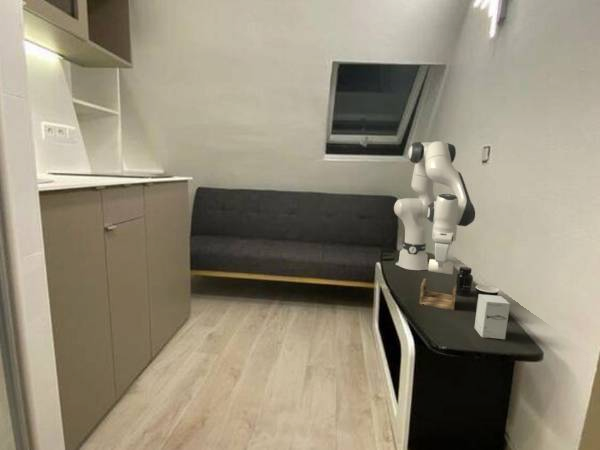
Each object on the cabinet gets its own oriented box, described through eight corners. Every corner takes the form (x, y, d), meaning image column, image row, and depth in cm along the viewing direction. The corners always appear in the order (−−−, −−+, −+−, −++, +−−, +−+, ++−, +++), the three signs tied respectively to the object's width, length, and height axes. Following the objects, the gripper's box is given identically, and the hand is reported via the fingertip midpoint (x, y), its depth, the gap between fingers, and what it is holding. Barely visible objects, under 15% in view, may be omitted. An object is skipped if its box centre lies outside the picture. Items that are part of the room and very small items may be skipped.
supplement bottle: (465, 297, 149) (468, 271, 147) (450, 292, 155) (453, 267, 153) (474, 294, 153) (477, 268, 151) (459, 290, 158) (462, 265, 157)
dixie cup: (471, 316, 129) (474, 288, 127) (473, 309, 136) (476, 283, 134) (495, 322, 125) (499, 293, 123) (496, 314, 132) (500, 287, 130)
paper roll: (427, 272, 140) (428, 260, 139) (429, 269, 144) (430, 257, 143) (452, 275, 136) (453, 263, 135) (453, 272, 140) (454, 260, 139)
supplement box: (481, 338, 113) (486, 301, 111) (473, 327, 120) (478, 293, 118) (505, 340, 112) (510, 303, 110) (496, 330, 119) (501, 295, 117)
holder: (419, 303, 140) (420, 284, 139) (422, 296, 149) (423, 278, 148) (453, 310, 135) (456, 290, 134) (454, 301, 144) (456, 283, 143)
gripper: (437, 230, 148) (434, 261, 150) (433, 238, 130) (430, 273, 132) (453, 232, 145) (450, 263, 148) (451, 240, 127) (447, 276, 129)
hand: (440, 268), depth 140 cm, fingers closed on paper roll, 5 cm apart
